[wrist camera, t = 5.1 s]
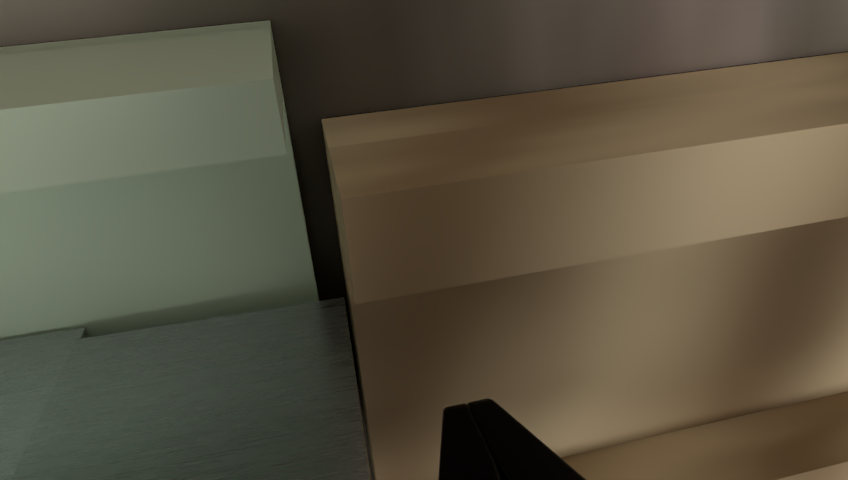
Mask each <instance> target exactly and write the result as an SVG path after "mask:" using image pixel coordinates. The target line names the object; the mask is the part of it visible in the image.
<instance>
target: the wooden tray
mask: <svg viewBox="0 0 848 480" xmlns="http://www.w3.org/2000/svg"><path fill="white" fill-rule="evenodd" d="M321 121H322V128H323V135H324V141H325V148H326V155H327V162H328V169H329V175H330V182H331V189H332V196H333V203H334V210H335V216H336V223H337V230H338V237H339V244H340V251H341V257H342V264H343V271H344V278H345V285H346V291H347V298H348V305H349V312H350V319H351V326H352V332H353V339H354V346H355V353H356V360H357V366H358V373H359V380H360V387H361V394H362V401H363V407H364V414H365V421H366V428H367V435H368V442H369V448H370V455H371V462H372V469H373V476H374V480H438V477H439V462H440V447H441V432H442V417H443V410H444V408H445V407H448V406H453V405H458V404H462V403H466V404H468V403H469V402H472V401H477V400H481V399H486V398H489V399H492V400H494V401H495V402H496V403H497V404H499V405H500V406H501V407H502V408H503V409H504V410H506V411H507V412H508V413H509V414H510V415H511V416H513V417H514V418H515V419H516V420H517V421H518V422H520V423H521V424H522V425H523V426H524V427H525V428H527V429H528V430H529V431H530V432H531V433H532V434H534V435H535V436H536V437H537V438H538V439H539V440H541V441H542V442H543V443H544V444H545V445H546V446H548V447H549V448H550V449H551V450H552V451H553V452H555V453H556V454H557V455H558V456H559V457H561V458H562V459H563V460H564V461H565V462H566V463H568V464H569V465H570V466H571V467H572V468H573V469H575V470H576V471H577V472H578V473H579V474H580V475H582V476H583V477H584V478H585V479H586V480H848V52H845V53H837V54H830V55H822V56H814V57H806V58H798V59H790V60H782V61H775V62H767V63H759V64H751V65H743V66H735V67H727V68H720V69H712V70H704V71H696V72H688V73H680V74H672V75H665V76H657V77H649V78H641V79H633V80H625V81H617V82H610V83H602V84H594V85H586V86H578V87H570V88H562V89H555V90H547V91H539V92H531V93H523V94H515V95H507V96H500V97H492V98H484V99H476V100H468V101H460V102H452V103H445V104H437V105H429V106H421V107H413V108H405V109H397V110H390V111H382V112H374V113H366V114H358V115H350V116H342V117H335V118H327V119H321Z"/></svg>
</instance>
